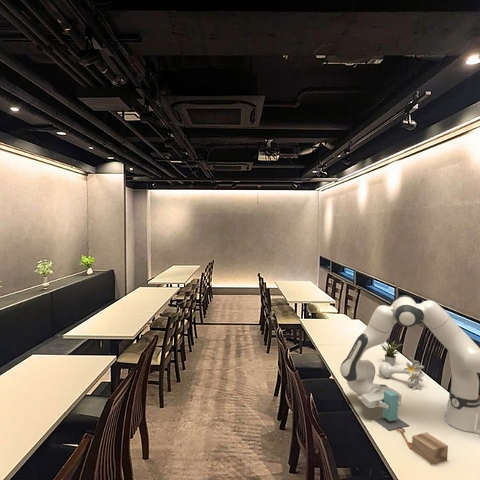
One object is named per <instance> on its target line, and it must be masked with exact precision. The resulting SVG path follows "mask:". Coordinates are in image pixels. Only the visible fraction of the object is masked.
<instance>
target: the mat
mask: <svg viewBox="0 0 480 480" xmlns="http://www.w3.org/2000/svg"><path fill="white" fill-rule="evenodd" d="M373 421H375V422H376V423H377V424H379V425H380V426H382V427H383V428H384V429H386V430H387V431H389V432H392V431H395V430H396V428H397V427H400V428H403V429H404V428H408V427H410V424H408V423H406V422H405V421H403V420H402V419H400V418H398V417H397V420H393V421H389V420H387V419H386V418H384V417H383V416H381V417H376V418H373ZM396 431H397V430H396Z"/></svg>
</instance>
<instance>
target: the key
mask: <svg viewBox="0 0 480 480" xmlns="http://www.w3.org/2000/svg"><path fill="white" fill-rule="evenodd" d="M396 431H397V432H399V433H401V435H402V437H403V439H404V441H405V442H406V445H407V446H408V449H410V450H412V441H411V442H410V441H408V439H407V437H406V435H405V434H404V433H405V432H406V429H404V428H400V427H397V428H396Z"/></svg>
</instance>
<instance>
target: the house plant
mask: <svg viewBox="0 0 480 480" xmlns="http://www.w3.org/2000/svg"><path fill="white" fill-rule="evenodd" d="M395 342H396V341H395V340H394V341H393V342H391V343H389V342H388V341H386V342H385V343H386V344H385V343H383V344H380V346H381V347H382V349H383V351H384V352H385V353H384V360H385V361H384V362H388V363H389V364H390V365H391V366H393V367H395V363H396V358H397V356H396V355H397V354H400V351H399V350H397V349H398V348H399V347H401V346H402V345H403V346H404V344H402V343H401V344H397V343H395Z"/></svg>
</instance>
